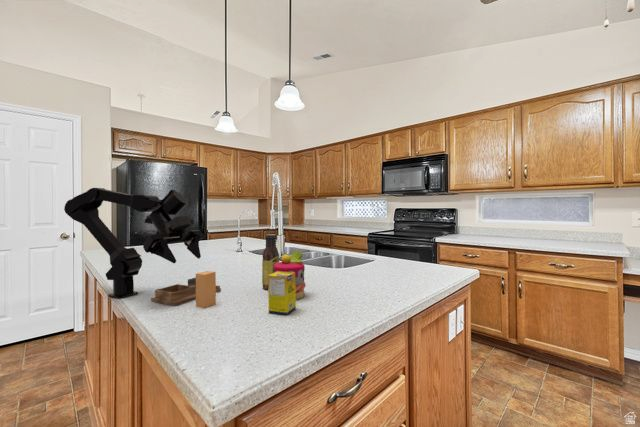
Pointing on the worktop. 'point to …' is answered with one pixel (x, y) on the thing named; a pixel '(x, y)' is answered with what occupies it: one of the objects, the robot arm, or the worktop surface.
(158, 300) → the housing
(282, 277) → the supplement box
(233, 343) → the worktop surface
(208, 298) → the block
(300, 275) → the cake
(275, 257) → the sauce bottle
